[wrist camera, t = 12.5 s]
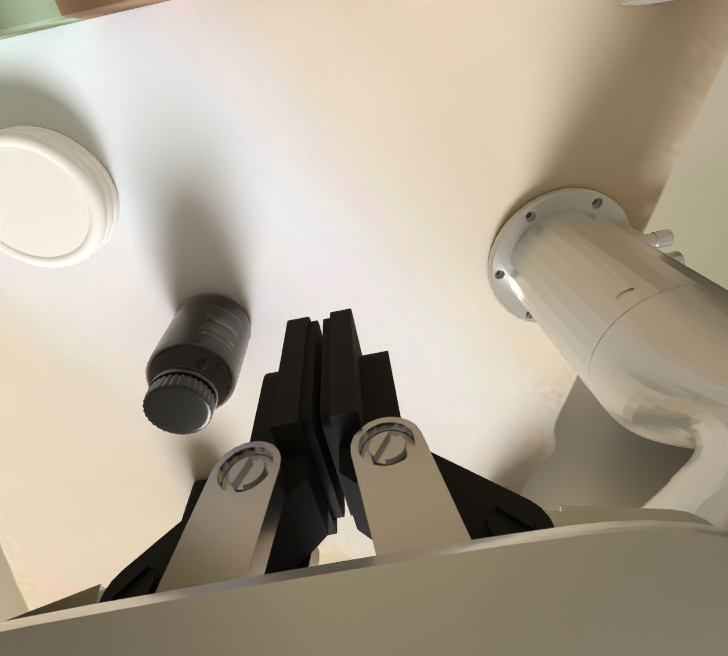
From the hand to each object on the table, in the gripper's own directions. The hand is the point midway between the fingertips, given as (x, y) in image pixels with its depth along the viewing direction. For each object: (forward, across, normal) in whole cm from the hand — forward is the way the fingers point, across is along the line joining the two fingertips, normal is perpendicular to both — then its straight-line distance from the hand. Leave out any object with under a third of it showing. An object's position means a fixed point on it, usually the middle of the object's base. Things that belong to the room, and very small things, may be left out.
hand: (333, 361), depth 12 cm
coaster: (+28, +22, -2) cm, 35 cm away
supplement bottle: (+27, +14, +12) cm, 33 cm away
